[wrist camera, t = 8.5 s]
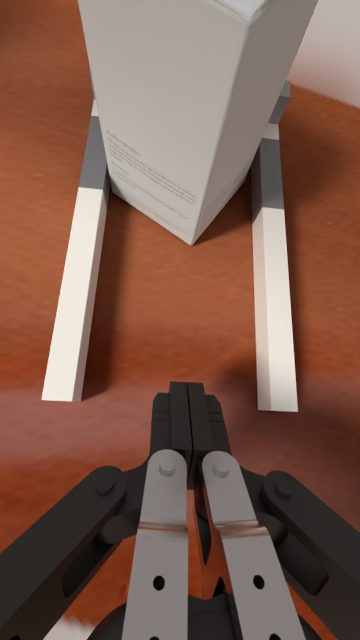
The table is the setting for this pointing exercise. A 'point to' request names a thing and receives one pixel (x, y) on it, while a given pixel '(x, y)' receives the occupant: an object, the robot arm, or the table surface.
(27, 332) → the table surface
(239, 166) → the supplement box
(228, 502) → the robot arm
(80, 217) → the guide channel
